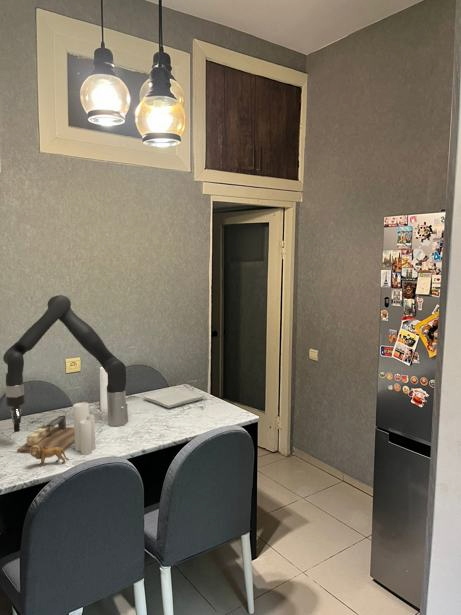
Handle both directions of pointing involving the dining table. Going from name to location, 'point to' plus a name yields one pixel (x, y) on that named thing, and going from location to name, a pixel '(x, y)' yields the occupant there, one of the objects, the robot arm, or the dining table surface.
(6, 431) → the dining table surface
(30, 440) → the maple link
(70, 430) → the walnut board
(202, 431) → the dining table surface
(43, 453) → the lion figurine
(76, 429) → the white pillar candles
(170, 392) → the square plate
